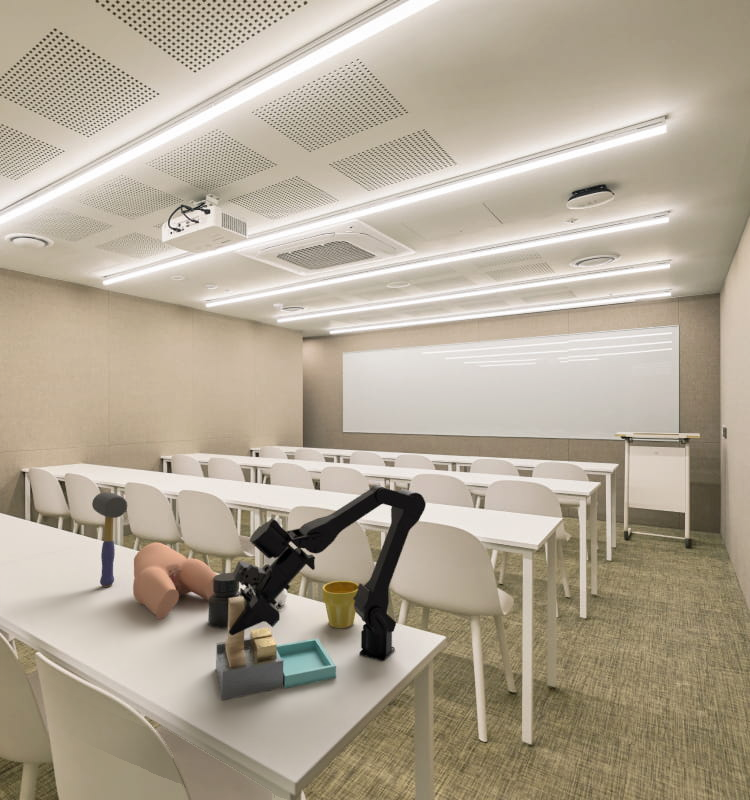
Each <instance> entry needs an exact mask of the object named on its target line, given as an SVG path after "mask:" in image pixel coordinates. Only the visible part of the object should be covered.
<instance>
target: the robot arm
mask: <svg viewBox="0 0 750 800" xmlns="http://www.w3.org/2000/svg"><path fill="white" fill-rule="evenodd" d="M426 504H427V502H426V501H425V498H424V496H423V495H422V494H421V493H419V492H415V491H412V490H409V489H400V490H398V491H397V490H394V489H390V488H386V487H384V486H381V485H378V484H377V485H376V484H375V485H372V486H371V487H370V488H369V489H368V490H367V491H365V492H363V493H362V494H361V495H358V496H357V497H355V498H354V499H353V500H351V501H350V502H348V503H346V504H344V505H343V506H342V507H340V508H339V509H337V510H335V511H333V512H332V513H331V514H329V515H328V514H327V515H326V516H322V517H318V518H315V519H313V520H311V521H308V522H305V523H304V524H302V525H301V527H299V528H294V529H290V530H285V529H284V528H283V526H282V527H281V526H280V525H279V523H278V522H277V521H276V520H275V518H273V517H271V518H270V519H269V520H268V521H266V522H264V523H263V524H262V525H261V526H258V527H257V528H256V529H255V530H254V531H253V533H252V534H251V536H250V539H249V542H250V543H251V544H252V545H253V546H254V547H256V549H258V551H260V553H262V554H263V556H264V555H265V556H266V557H267V558H272V557H274V558H277V557H278V558H277V559H276V560H275V561H274V562H273V563H272V564H271V565H269V564H267V565H265V566H264V567H263V566H262V567H259V566H257V565H255V564H252V563H249V562H246V561H243V560H238V562H237V564H236V566H235V568H234V571H233V572H232V573H233V575H234V579H235V580H236V581H239V584H240V585H241V586H245V587H244V589H243V588H242V587H239V592H240V597H241V596H243V597H244V600H245V604H244V610H243V612H242V613H241V614H240V616H239V617H238V619H237V620H236V621H235V623H234V624H233V626H232V627H231V629H230V630H229V633H230V634H231V635H234V634H236V633H239V632H241V631H243V630H244V631H245V630H246V629H249V628H251V627H254V626H256V625H258V624H260V623H267V624H268V625H269V626H270V627H272V628H274V626H276V625H277V623H278V622H279V621H280V619H281V618H280V611H279V610H278V608H277V607H275V606H274V605H275V604H276V603H277V602H276V600H275V599H276V598H277V597H278V596H279V594H280V593H281V592H282V591H283V590H284V589H286V590H287V591H288V590H289V589H290V588H291V586H290V584H291V582H292V581H293V580H294V579H295V578H296V577H297V575H298V574H300V572H301V571H302V570H303V568H305V566H306V565H307V566H308V567H309V568H310V569H311V570H312V571H315V569H316V566H315V559H316V557H315V556H314V555H313V554H317V555H318V554H320V553H322V552H324V551H326V549H327V548H328V547H329V546H330V545H331V544H333V542H335V540H336V538H337V537H338V536H339V535H340V534H341V532H343V531H344V530H346V529H347V528H348V527H350V526H351V525H353V524H354V523H356V522H357V521H359V520H360V519H362V518H363V517H365V516H367V514H369V513H370V512H372V511H374V510H375V509H377V508H378V507H380V506H381V505H386V506H390V507H391V508H390V517H391V518H390V519H391V522H390V526H389V528H388V530H387V533H386V537H385V539H384V540H383V541H384V542H383V545H382V547H381V549H380V552H379V555H378V557H377V560H376V563H375V565H374V568H373V571H372V574H371V576H370V579H369V580H368V581H367V582H366V583H365V584H363V583H361V582H360V583H359V584H358V585H359V586H358V590H357V593H356V595H355V597H354V598H353V599H354V600H355V602H354V608H355V611H356V613H355V614H357V615H358V616H359V617H360V618H361V620H362V621H363V622H364V623H365V624H363V625H362V630H361V633H360V634H361V636H360V648H361V650H360V651H359V653H358V654H359V655H360V656H363V657H367V658H370V659H374V660H378V661H385V660H386V659H387V658H388V657H389V656H391V654H392V653H393V652H394V651H395V650H396V649H395V646H393V632H394V631H395V629H396V625H397V621H395V619H393V618H392V617H391V616H390V615H389V614H388V613H387V612H388V609H389V603H390V596H389V594H390V593H389V592H390V591H389V590H390V589H389V588H390V585H391V581H392V579H393V576H394V573H395V572H396V571H395V570H396V569H397V565H398V563H399V560H400V557H401V555H402V552H403V549H404V547H405V544H406V540H407V538H408V536H409V532H410V531H411V529H412V528H413V527H414V526H415V525H416V524H417V523H418V522H419V521H420V519H421V517H422V515H423V513H424V511H425V510H426ZM290 543H292V544H293V545H295V548H294V547H293V546H292V545H291V544H290ZM303 549H305V550H306V551H307V552H309V553H311V554H307V553H306V551H304V550H303ZM226 628H228V624H227V627H226Z"/></svg>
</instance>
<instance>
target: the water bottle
mask: <svg viewBox="0 0 750 800" xmlns="http://www.w3.org/2000/svg"><path fill="white" fill-rule="evenodd" d="M274 519H275V520H276V521H277V522H278V523H279V525H280V526H281V527H282V528H283V524H282V522H283V521H282V518H280V517H279V518H278V517H277V518H274ZM277 558H278V557H277ZM277 558H274V557H272V558H267V557H266V556H265V555H264V554H263V566H262V568H263V567H264V566H265V565H267V564H269V565H271V564H272V563H273V562H274V561H275V560H276V559H277ZM287 598H288V590H286V589H284V590H283V591H282V592H281V593H280V594H279V596H278V597H277V598H276V599H275V600H276V602H277V603H276V604H275V605H274V606H275V607H276V608H277V607H278V605H279V606H280V607H281V606H283V605H285V603H286V602H287Z"/></svg>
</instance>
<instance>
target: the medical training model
mask: <svg viewBox="0 0 750 800" xmlns="http://www.w3.org/2000/svg"><path fill="white" fill-rule="evenodd" d="M216 575H218V574H217V573H215V572H214V571H213V570H212V568H210V567H209V565H207V564H206V563H205V562H204V561H202V560H200V559H196V558H192V557H191V558H189V557H188V558H186V556H185V555H184V554H181V553H180V552H179V551H176V550H174V549H173V548H171V547H170V546H168V545H167V544H164V543H161V542H152V543H149V544H147V545H145V546H144V547H142V548H141V549H140V550H138V552H137V553H136V554H135V555H134V559H133V576H134V578H133V584H132V591H133V593H132V594H133V597H134V599H135V600H136V602H138V603H139V604H141V605H144V606H145V607H146V608H147V609H148V610H149V611H150V612H151V613H153V614H154V615H155V616H156V617H157V619H158V620H163V619H164V618H166V617H167V616H168V615H169V614H170V612H171V611H172V610H173V609H174V607H175V606H176V605H177V603H178V602H179V598H180V597H181V596H184V595H188V594H189V593H193V594H195V595H196V596H199V597H201V598H202V599H203V600H206V601H207V602H209V598H210V597H211V596H212V595H213V593H214V592H213V578H214V577H215V576H216ZM162 618H163V619H162Z"/></svg>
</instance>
